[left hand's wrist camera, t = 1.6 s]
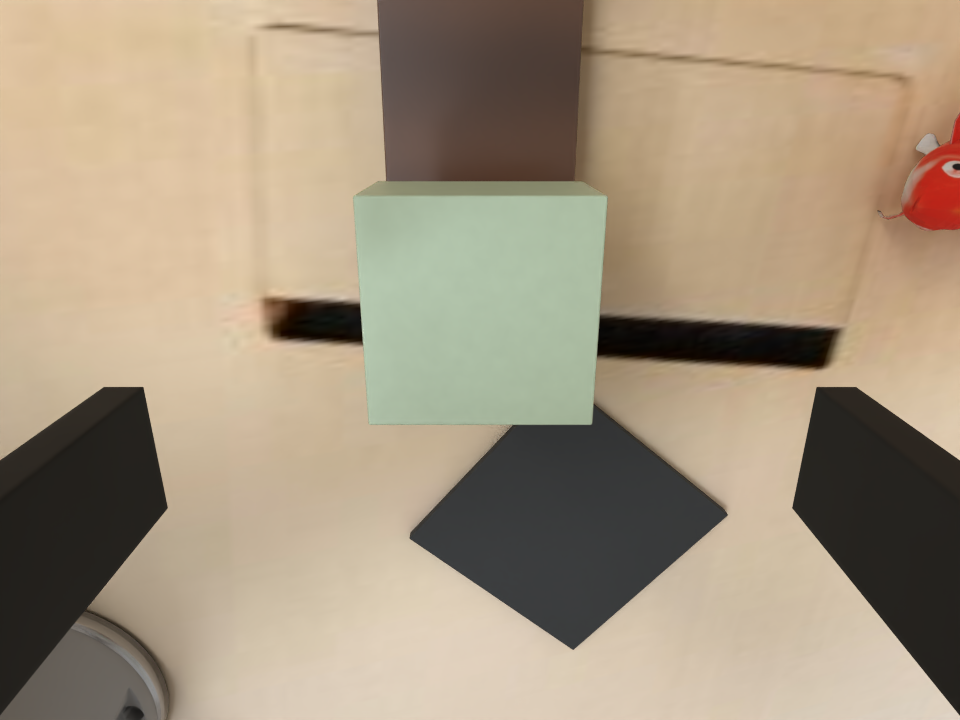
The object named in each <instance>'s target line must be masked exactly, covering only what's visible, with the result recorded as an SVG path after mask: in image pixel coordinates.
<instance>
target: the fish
mask: <svg viewBox="0 0 960 720" xmlns="http://www.w3.org/2000/svg"><path fill="white" fill-rule="evenodd" d="M916 150H918V151H919V152H922V153H924V154H926V155H925V156H924V157H923V158H922V159H921V160H920V161H919V162H918V163H917V165H916V166H915V167H914V168H913V169H912V171H911V173H910V175H909V176H908V178H907V181H906V183H905V187H904V190H903V193H902V196H901V204H902V210H903V212H902V213H900V214H898V215H893V216H886V217H884V215H883V214H882V213H881V211H878V213H879V216H880V217H881V218H885V219H892V218H896V217H900V216H903V215H905V216H906V217H907V218H908V219H909V220H910V221H912V222H913V223H914V224H915V225H916V226H917V227H919V228H920V229H923V230H926V231H933V230H940V229H947V230H955V229H960V113H959V115H958V116H957V118H956V120H955V123H954V127H953V131H952V136H951V140H950V141H949V142H947V143H945V144H943V145H941V146H940V145H939V144H938V141H937V139H936V137H935V135H934V134H926V135H925V136H924V137H923V138H922V140H921V141H920V142H919V144H918V145H917V146H916Z"/></svg>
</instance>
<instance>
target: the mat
mask: <svg viewBox="0 0 960 720" xmlns="http://www.w3.org/2000/svg"><path fill="white" fill-rule="evenodd" d="M726 516H727V513H726V511H725V510H724V509H723V508H722V507H721V506H719V505H718V504H717V503H716V502H714V501H713V500H712V499H711V498H709V497H708V496H707V495H706V494H704V493H703V492H702V491H701V490H699V489H698V488H697V487H696V486H695V485H693V484H692V483H691V482H690V481H688V480H687V479H686V478H685V477H683V476H682V475H681V474H680V473H678V472H677V471H676V470H675V469H673V468H672V467H671V466H670V465H669V464H667V463H666V462H665V461H664V460H662V459H661V458H660V457H659V456H657V455H656V454H655V453H654V452H652V451H651V450H650V449H649V448H648V447H646V446H645V445H644V444H643V443H641V442H640V441H639V440H638V439H636V438H635V437H634V436H633V435H631V434H630V433H629V432H628V431H626V430H625V429H624V428H623V427H622V426H620V425H619V424H618V423H617V422H615V421H614V420H613V419H612V418H610V417H609V416H608V415H607V414H605V413H604V412H603V411H602V410H600V409H599V408H598V407H597V406H596V405H594V404H593V418H592V424H591V425H513V426H512V427H511V428H510V429H509V430H508V431H507V432H506V433H505V434H504V435H503V436H502V437H501V439H500V440H499V441H498V442H497V443H496V444H495V445H494V446H493V447H492V448H491V449H490V450H489V451H488V452H487V453H486V454H485V455H484V456H483V457H482V458H481V460H480V461H479V462H478V463H477V464H476V465H475V466H474V467H473V468H472V469H471V470H470V471H469V472H468V473H467V474H466V475H465V476H464V477H463V478H462V479H461V481H460V482H459V483H458V484H457V485H456V486H455V487H454V488H453V489H452V490H451V491H450V492H449V493H448V494H447V495H446V496H445V497H444V498H443V499H442V500H441V502H440V503H439V504H438V505H437V506H436V507H435V508H434V509H433V510H432V511H431V512H430V513H429V514H428V515H427V516H426V517H425V518H424V519H423V520H422V521H421V523H420V524H419V525H418V526H417V527H416V528H415V529H414V530H413V531H412V532H411V533H410V539H411V540H413V541H414V542H415V543H417V544H418V545H420V546H421V547H423V548H424V549H426V550H427V551H429V552H430V553H432V554H433V555H435V556H436V557H438V558H439V559H440V560H442V561H443V562H445V563H446V564H448V565H449V566H451V567H452V568H454V569H455V570H457V571H458V572H460V573H461V574H462V575H464V576H465V577H467V578H468V579H470V580H471V581H473V582H474V583H476V584H477V585H479V586H480V587H482V588H483V589H485V590H486V591H487V592H489V593H490V594H492V595H493V596H495V597H496V598H498V599H499V600H501V601H502V602H504V603H505V604H507V605H508V606H509V607H511V608H512V609H514V610H515V611H517V612H518V613H520V614H521V615H523V616H524V617H526V618H527V619H529V620H530V621H532V622H533V623H534V624H536V625H537V626H539V627H540V628H542V629H543V630H545V631H546V632H548V633H549V634H551V635H552V636H554V637H555V638H556V639H558V640H559V641H561V642H562V643H564V644H565V645H567V646H568V647H570V648H571V649H573V650H574V649H575V648H576V647H577V646H578V645H579V644H581V643H582V642H583V641H584V640H585V639H586V638H587V637H589V636H590V635H591V634H592V633H593V632H594V631H595V630H597V629H598V628H599V627H600V626H601V625H602V624H603V623H605V622H606V621H607V620H608V619H609V618H610V617H612V616H613V615H614V614H615V613H616V612H617V611H618V610H620V609H621V608H622V607H623V606H624V605H625V604H626V603H628V602H629V601H630V600H631V599H632V598H633V597H634V596H636V595H637V594H638V593H639V592H640V591H641V590H642V589H644V588H645V587H646V586H647V585H648V584H649V583H651V582H652V581H653V580H654V579H655V578H656V577H657V576H659V575H660V574H661V573H662V572H663V571H664V570H665V569H667V568H668V567H669V566H670V565H671V564H672V563H673V562H675V561H676V560H677V559H678V558H679V557H680V556H682V555H683V554H684V553H685V552H686V551H687V550H688V549H690V548H691V547H692V546H693V545H694V544H695V543H696V542H698V541H699V540H700V539H701V538H702V537H703V536H704V535H706V534H707V533H708V532H709V531H710V530H711V529H712V528H714V527H715V526H716V525H717V524H718V523H719V522H721V521H722V520H723V519H724V518H725V517H726Z"/></svg>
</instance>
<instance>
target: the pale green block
mask: <svg viewBox="0 0 960 720" xmlns="http://www.w3.org/2000/svg"><path fill="white" fill-rule="evenodd" d="M607 201H608V197H607V196H606V195H605V194H603V193H601V192H600V191H598V190H596V189H595V188H593V187H591V186H590V185H588V184H586V183H585V182H583V181H378V182H376V183H375V184H373V185H371V186H370V187H368V188H366V189H365V190H363V191H361V192H360V193H358V194H356V195H355V196H354V197H353V203H354V217H355V232H356V247H357V261H358V276H359V290H360V305H361V320H362V334H363V349H364V363H365V378H366V393H367V407H368V422H369V424H370V425H591V424H592V418H593V404H594V389H595V375H596V361H597V346H598V332H599V317H600V303H601V288H602V274H603V259H604V245H605V230H606V216H607Z"/></svg>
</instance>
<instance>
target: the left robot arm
mask: <svg viewBox="0 0 960 720" xmlns="http://www.w3.org/2000/svg"><path fill="white" fill-rule="evenodd" d="M167 508H168V507H167V502H166V497H165V492H164V487H163V482H162V477H161V473H160V468H159V463H158V458H157V453H156V448H155V443H154V438H153V433H152V428H151V423H150V418H149V413H148V408H147V403H146V398H145V393H144V388H143V387H103V388H102V389H101V390H99V391H98V392H96V393H95V394H94V395H92V396H91V397H89V398H88V399H87V400H85V401H84V402H82V403H81V404H79V405H78V406H77V407H75V408H74V409H72V410H71V411H70V412H68V413H67V414H65V415H64V416H62V417H61V418H60V419H58V420H57V421H55V422H54V423H53V424H51V425H50V426H48V427H47V428H45V429H44V430H43V431H41V432H40V433H38V434H37V435H36V436H34V437H33V438H31V439H30V440H29V441H27V442H26V443H24V444H23V445H21V446H20V447H19V448H17V449H16V450H14V451H13V452H12V453H10V454H9V455H7V456H6V457H4V458H3V459H2V460H0V720H166V718H167V715H168V708H169V697H168V690H167V686H166V683H165V680H164V678H163V675H162V673H161V671H160V669H159V667H158V666H157V664H156V663H155V661H154V660H153V658H152V657H151V656H150V655H149V653H148V652H147V651H146V650H145V649H144V648H143V647H142V646H141V645H140V644H139V643H138V642H137V641H136V640H135V639H134V638H132V637H131V636H130V635H129V634H127V633H126V632H125V631H123V630H122V629H120V628H119V627H117V626H115V625H114V624H112V623H110V622H108V621H106V620H105V619H103V618H101V617H98V616H96V615H94V614H91V613H89V612H86V611H85V610H86V609H87V607H88V606H89V605H90V604H91V602H92V601H93V600H94V599H95V597H96V596H97V595H98V594H99V592H100V591H101V590H102V589H103V587H104V586H105V585H106V584H107V583H108V581H109V580H110V579H111V578H112V576H113V575H114V574H115V573H116V571H117V570H118V569H119V568H120V566H121V565H122V564H123V563H124V561H125V560H126V559H127V558H128V557H129V555H130V554H131V553H132V552H133V550H134V549H135V548H136V547H137V545H138V544H139V543H140V542H141V540H142V539H143V538H144V537H145V535H146V534H147V533H148V532H149V531H150V529H151V528H152V527H153V526H154V524H155V523H156V522H157V521H158V519H159V518H160V517H161V516H162V514H163V513H164V512H165V511H166V509H167ZM792 508H793V509H794V511H795V512H796V513H797V514H798V516H799V517H800V518H801V519H802V521H803V522H804V523H805V524H806V526H807V527H808V528H809V529H810V531H811V532H812V533H813V534H814V535H815V537H816V538H817V539H818V540H819V542H820V543H821V544H822V545H823V547H824V548H825V549H826V550H827V552H828V553H829V554H830V555H831V557H832V558H833V559H834V560H835V561H836V563H837V564H838V565H839V566H840V568H841V569H842V570H843V571H844V573H845V574H846V575H847V576H848V578H849V579H850V580H851V581H852V583H853V584H854V585H855V586H856V587H857V589H858V590H859V591H860V592H861V594H862V595H863V596H864V597H865V599H866V600H867V601H868V602H869V604H870V605H871V606H872V607H873V609H874V610H875V611H876V612H877V613H878V615H879V616H880V617H881V618H882V620H883V621H884V622H885V623H886V625H887V626H888V627H889V628H890V630H891V631H892V632H893V633H894V635H895V636H896V637H897V638H898V639H899V641H900V642H901V643H902V644H903V646H904V647H905V648H906V649H907V651H908V652H909V653H910V654H911V656H912V657H913V658H914V659H915V661H916V662H917V663H918V664H919V665H920V667H921V668H922V669H923V670H924V672H925V673H926V674H927V675H928V677H929V678H930V679H931V680H932V682H933V683H934V684H935V685H936V687H937V688H938V689H939V690H940V691H941V693H942V694H943V695H944V696H945V698H946V699H947V700H948V701H949V703H950V704H951V705H952V706H953V708H954V709H955V710H956V711H957V713H958V714H959V715H960V460H958V459H957V458H956V457H954V456H953V455H951V454H950V453H948V452H947V451H946V450H944V449H943V448H941V447H940V446H939V445H937V444H936V443H934V442H933V441H931V440H930V439H929V438H927V437H926V436H924V435H923V434H922V433H920V432H919V431H917V430H916V429H915V428H913V427H912V426H910V425H909V424H907V423H906V422H905V421H903V420H902V419H900V418H899V417H898V416H896V415H895V414H893V413H892V412H890V411H889V410H888V409H886V408H885V407H883V406H882V405H881V404H879V403H878V402H876V401H875V400H873V399H872V398H871V397H869V396H868V395H866V394H865V393H864V392H862V391H861V390H859V389H858V388H857V387H817V388H816V393H815V398H814V403H813V408H812V413H811V418H810V423H809V428H808V433H807V438H806V443H805V448H804V453H803V458H802V463H801V468H800V473H799V477H798V482H797V487H796V492H795V497H794V502H793V507H792Z"/></svg>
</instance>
